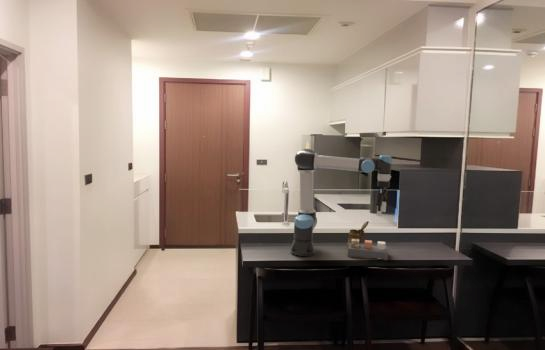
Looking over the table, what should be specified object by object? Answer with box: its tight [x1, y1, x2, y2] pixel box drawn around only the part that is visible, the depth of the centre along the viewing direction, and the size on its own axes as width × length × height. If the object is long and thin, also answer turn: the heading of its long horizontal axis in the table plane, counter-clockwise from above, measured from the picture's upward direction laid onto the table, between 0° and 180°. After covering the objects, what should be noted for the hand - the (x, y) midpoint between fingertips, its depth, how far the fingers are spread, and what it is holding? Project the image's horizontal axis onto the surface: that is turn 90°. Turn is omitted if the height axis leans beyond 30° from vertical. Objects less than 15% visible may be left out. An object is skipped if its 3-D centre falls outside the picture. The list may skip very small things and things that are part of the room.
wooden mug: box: [346, 221, 370, 248], centre depth 268 cm, size 9×14×18 cm, turn 87°
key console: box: [347, 243, 389, 259], centre depth 253 cm, size 24×12×5 cm, turn 77°
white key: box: [376, 240, 386, 250], centre depth 251 cm, size 4×4×5 cm
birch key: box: [351, 239, 359, 248], centre depth 254 cm, size 4×4×5 cm
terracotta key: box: [364, 239, 373, 249], centre depth 253 cm, size 4×4×5 cm
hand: (381, 213), depth 252 cm, fingers open, 13 cm apart
